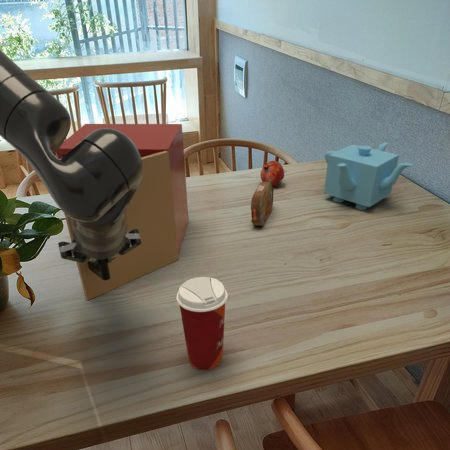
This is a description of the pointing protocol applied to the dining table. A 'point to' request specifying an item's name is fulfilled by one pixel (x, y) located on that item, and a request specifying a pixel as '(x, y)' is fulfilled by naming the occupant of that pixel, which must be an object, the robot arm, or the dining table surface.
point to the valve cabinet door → (148, 229)
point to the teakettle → (361, 174)
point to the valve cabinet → (147, 145)
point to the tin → (262, 203)
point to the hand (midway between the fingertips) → (101, 258)
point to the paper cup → (203, 320)
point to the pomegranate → (272, 173)
